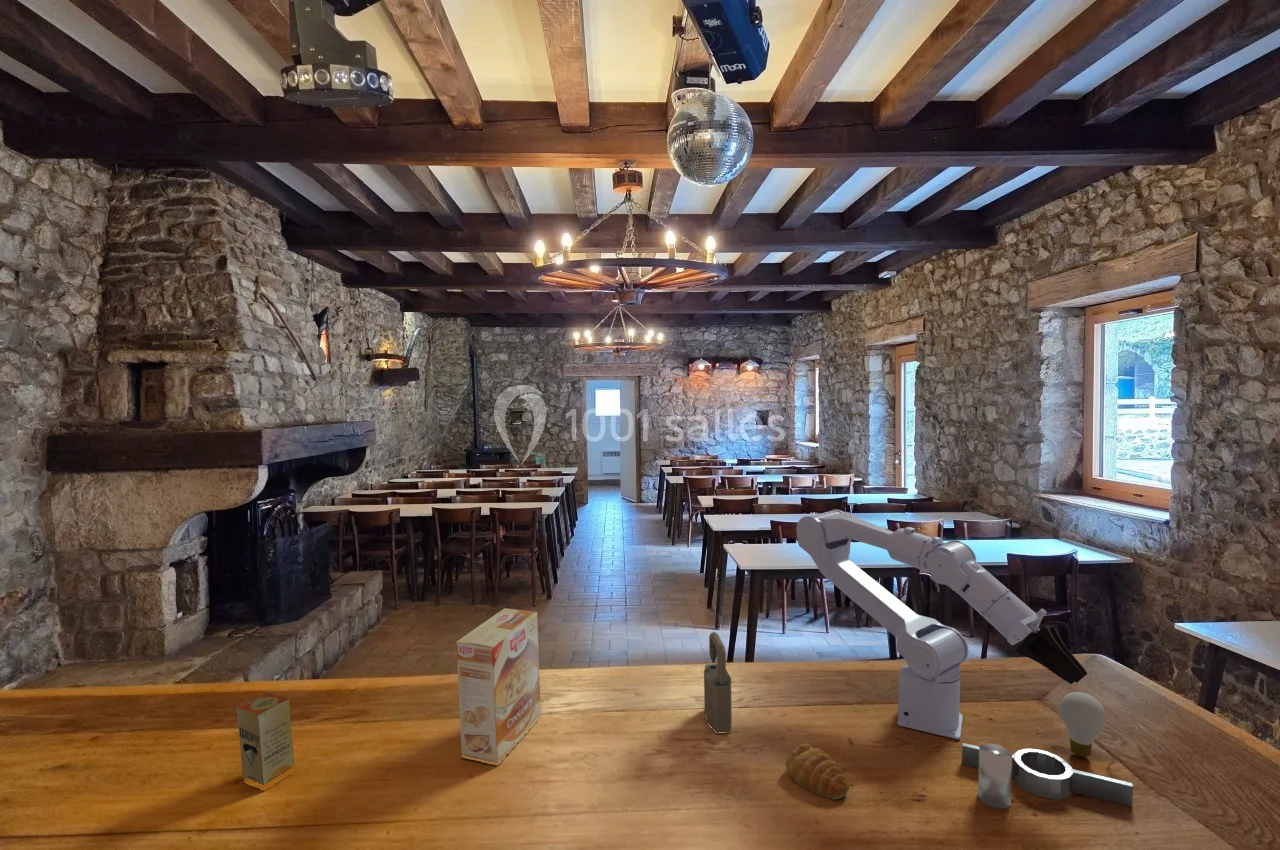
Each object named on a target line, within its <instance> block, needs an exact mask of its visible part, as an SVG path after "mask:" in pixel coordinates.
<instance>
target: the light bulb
mask: <svg viewBox="0 0 1280 850" xmlns="http://www.w3.org/2000/svg"><path fill="white" fill-rule="evenodd" d="M1058 706H1059V707H1058V709H1059V715H1060V717H1061V720H1062V721H1063V722H1064V725H1065V727H1066V729H1067V732H1068V735H1069V737H1070V738H1069V744H1070V752H1072V753H1073V754H1074V755H1076V756H1077V757H1078V758H1081V759H1082V758H1086V757H1090V756H1091V755H1092V746H1093V743H1094V741H1095V739H1096V736H1097V735H1098V733H1099V732H1100V731H1102V729H1103V728H1105V725H1106V722H1107V717H1106V714H1107V713H1106V712H1105V708H1104V707H1103V705H1102V704H1101V702H1100V701H1099V700H1098V699H1096V698H1095V696H1093V695H1091V694H1088V693H1086V692H1082V691H1072V692H1069V693H1066V695H1065V696H1063V697H1062V698H1061V700H1060V703H1059V705H1058Z"/></svg>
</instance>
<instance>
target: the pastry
mask: <svg viewBox="0 0 1280 850" xmlns="http://www.w3.org/2000/svg"><path fill="white" fill-rule="evenodd" d="M785 768H786V770H787V772H788V774H789V776H790V777H791V779H792V780H794V781H796V783H797V784H798V785H799V786H801V787H802V788H804V787H805V788H804V789H807V790H808V791H809V792H812V791H813V792H812V793H814V792H815V793H814V794H816V795H818V796H820V795H821V796H820V797H822V796H823V797H822V798H825V799H826V798H827V799H831V800H834V801H835V800H840V799H841V798H844V797H845V796H846V795H847V794H848V792H849V789H850V781H849V780H848V778H847V776H846V773H845V771H843V770H842V769H841V768H840V765H839V763H837V762H836V761H835V759H833V758H832V757H831V755H830V754H829V753H826V752H825V751H824V750H823V749H822V748H818V747H817V748H814V747H813V746H812V745H810V744H809V743H801V744H799V745H797V746H795V748H794V749H793V750H792V751H791V752H790V753H789V756H788V758H787V760H786V762H785Z"/></svg>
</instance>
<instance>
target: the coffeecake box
mask: <svg viewBox="0 0 1280 850" xmlns="http://www.w3.org/2000/svg"><path fill="white" fill-rule="evenodd" d="M538 622H539V621H538V612H537V611H532V610H524V609H515V608H505V607H504V608H503V609H501V610H500V611H498V612H497V613H495V614H494V615H493V616H491V617H490V618H489V619H487V620H486V621H484V622H483V623H481V624H480V625H478V626H477V627H475V628H474V629H472V630H471V631H469V632H468V633H466V635H464V636H463V637H461V638H460V639H458V640H457V641H456V642H455V643H456V659H457V660H456V661H457V662H456V664H457V683H458V702H459V704H458V705H459V707H458V708H459V726H460V727H459V729H460V730H459V731H460V744H461V745H460V747H461V748H460V750H461V756H462V755H464V756H466V757H470V758H474V759H480V760H484V761H488V762H493V763H498V762H500V761H501V759H502V758H503V757H504V756H505V755H506V754H507V753H508V752H509V751H510V750H511V749H512V748H513V747H514V746H515V744H516V743H517V742H518V741H519V740H520V738H521V737H522V736H523V735H524V733H525V732H526V731H527V730H528V729H529V727H530V726H531V725H532V724H533V723H534V721H535V720H536V719H537V717H538V716H539V715H540V714H541V715H542V709H541V686H540V685H541V684H540V681H541V680H540V678H541V677H540V655H539V653H540V652H539V651H540V650H539V631H538V628H539V627H538V626H539V625H538V624H539V623H538Z"/></svg>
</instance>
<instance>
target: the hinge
mask: <svg viewBox="0 0 1280 850" xmlns="http://www.w3.org/2000/svg"><path fill="white" fill-rule="evenodd" d="M979 747H980V746H978V745H973V744H970V743H965V742H962V747H961V748H962V749H961V750H962V751H961V764H962V765H963V766H968V767H972V768H974V769H975V768H976V769H979ZM1011 778H1013V779H1014V781H1015V782H1016V784H1017V785H1018V786H1019V787H1021V788H1022V789H1023V790H1025V791H1026V792H1028V793H1030V794H1033V795H1035V796H1036V797H1040V798H1044V799H1048V800H1059V801H1060V800H1061V801H1062V800H1065V799H1068V798H1070V796H1071V795H1072V794H1078V795H1080V796H1081V795H1082V796H1085V797H1090V798H1093V799H1098V800H1101V801H1106V802H1109V803H1115V804H1118V805H1122V806H1126V807H1129V808H1133V802H1134V801H1133V799H1134V798H1133V797H1134V785H1133V783H1132V782H1128V781H1125V780H1121V779H1116V778H1112V777H1109V776H1108V777H1107V776H1103V775H1099V774H1095V773H1091V772H1087V771H1082V770H1078V769H1074V768H1073V767H1072V766H1071V765H1070V763H1068V761H1067V760H1065V759H1064V758H1062V757H1061V756H1060V755H1056V754H1054V753H1051V752H1049V751H1046V750H1042V749H1037V748H1023V749H1019V750H1017V751H1016V752H1015V753H1013V754H1012V777H1011Z"/></svg>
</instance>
